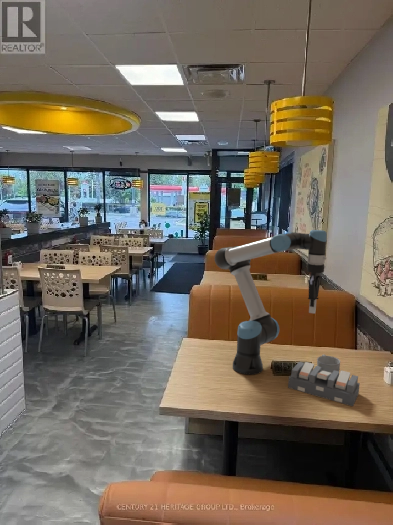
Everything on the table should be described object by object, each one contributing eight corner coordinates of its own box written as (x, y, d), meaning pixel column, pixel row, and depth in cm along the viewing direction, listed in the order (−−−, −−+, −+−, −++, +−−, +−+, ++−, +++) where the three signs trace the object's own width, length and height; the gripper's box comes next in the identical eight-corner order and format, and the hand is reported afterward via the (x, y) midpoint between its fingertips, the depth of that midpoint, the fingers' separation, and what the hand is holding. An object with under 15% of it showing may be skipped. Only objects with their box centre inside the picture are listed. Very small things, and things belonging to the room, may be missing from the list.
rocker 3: (335, 387, 165) (335, 384, 164) (340, 373, 172) (340, 370, 171) (345, 390, 162) (345, 386, 162) (350, 375, 170) (350, 372, 169)
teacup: (340, 381, 182) (342, 365, 181) (317, 378, 185) (318, 362, 183) (336, 368, 196) (337, 354, 195) (314, 366, 198) (315, 351, 197)
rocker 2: (316, 377, 168) (317, 373, 168) (322, 373, 176) (322, 370, 177) (326, 380, 166) (326, 376, 166) (331, 376, 174) (331, 372, 174)
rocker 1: (298, 377, 173) (298, 374, 172) (305, 364, 181) (305, 361, 180) (307, 379, 171) (307, 376, 170) (314, 366, 178) (314, 363, 178)
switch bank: (287, 387, 174) (289, 370, 173) (297, 377, 185) (298, 360, 184) (352, 406, 159) (354, 387, 158) (358, 393, 170) (360, 375, 169)
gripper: (320, 266, 169) (316, 317, 173) (327, 262, 180) (323, 311, 184) (303, 264, 173) (300, 314, 177) (311, 261, 184) (308, 308, 188)
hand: (312, 312), depth 180 cm, fingers closed
